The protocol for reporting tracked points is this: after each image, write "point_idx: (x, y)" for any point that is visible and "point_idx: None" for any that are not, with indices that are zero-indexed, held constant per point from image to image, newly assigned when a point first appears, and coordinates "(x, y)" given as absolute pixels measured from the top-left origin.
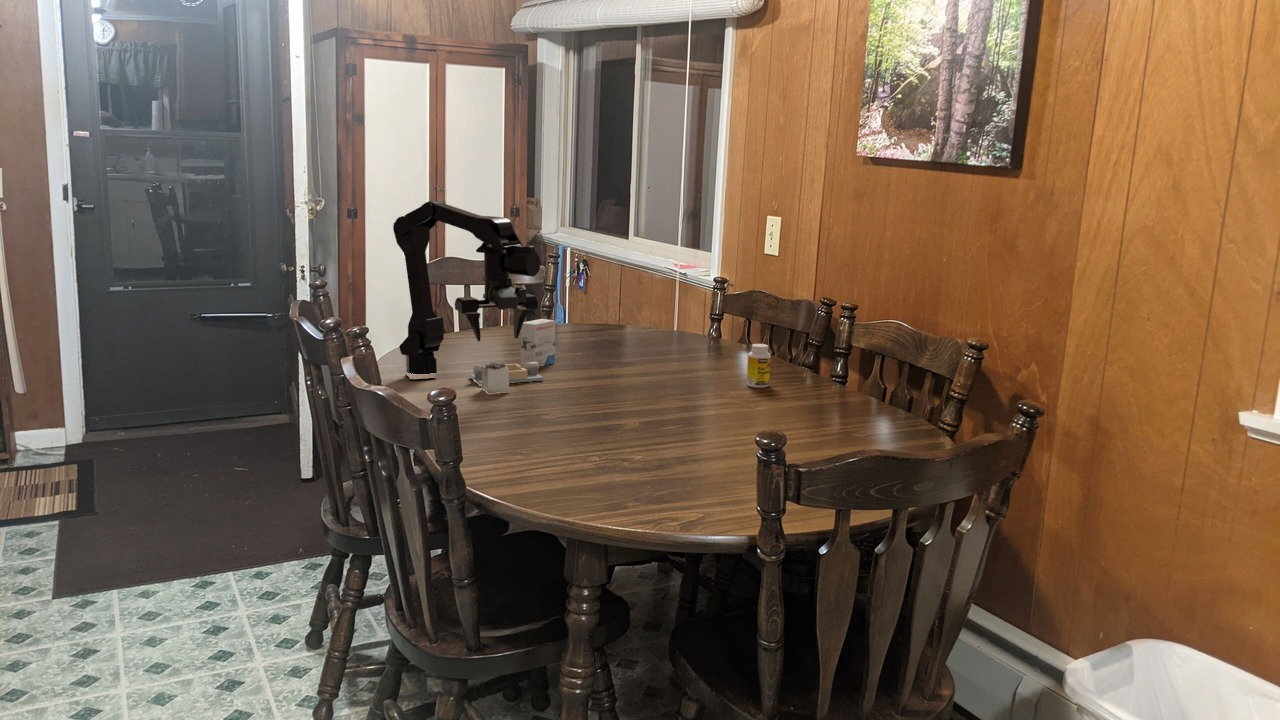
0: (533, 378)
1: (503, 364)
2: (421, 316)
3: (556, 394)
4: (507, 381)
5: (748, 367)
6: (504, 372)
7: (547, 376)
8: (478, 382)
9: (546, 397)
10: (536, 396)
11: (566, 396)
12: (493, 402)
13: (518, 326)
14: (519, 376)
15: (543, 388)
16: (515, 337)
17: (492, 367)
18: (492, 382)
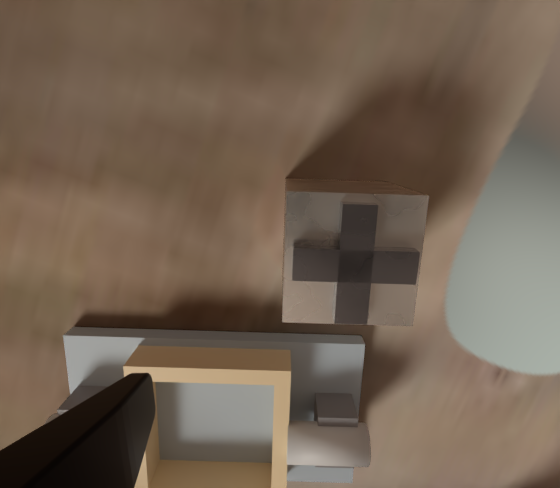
0: (112, 335)
1: (305, 249)
2: None
3: (76, 69)
4: (294, 183)
5: None
6: (314, 190)
7: (34, 400)
8: (361, 363)
9: (140, 28)
10: (182, 68)
11: (37, 7)
12: (417, 31)
13: (43, 459)
14: (173, 352)
15: (106, 207)
16: (150, 394)
17: (377, 247)
18: (378, 186)
